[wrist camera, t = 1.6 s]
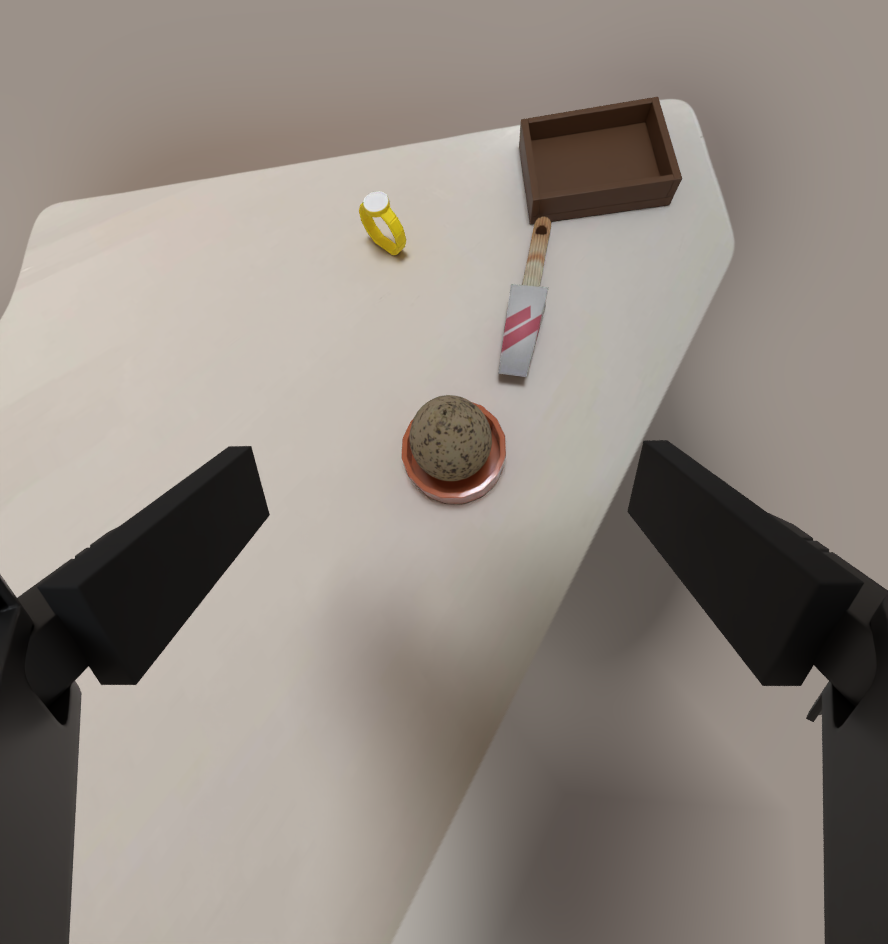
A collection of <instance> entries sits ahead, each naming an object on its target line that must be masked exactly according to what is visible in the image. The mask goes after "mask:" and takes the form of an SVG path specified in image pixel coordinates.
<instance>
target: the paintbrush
mask: <svg viewBox="0 0 888 944" xmlns="http://www.w3.org/2000/svg"><path fill="white" fill-rule="evenodd" d="M550 229H551V221H550V219H548V218H547V217H541V218H538V220H536V222H535V224H534V229H533V234H532V239H531V244H530V250H529V255H528V260H527V264H526V269H525V274H524V279H523V284H522V285H516V284H511V290H510V297H509V303H508V310H507V317H506V324H505V331H504V338H503V345H502V352H501V359H500V365H499V372H498V373H500V374H508V375H515V376H523V377H526V376H527V373H528V369H529V365H530V361H531V358H532V354H533V350H534V347H535V343H536V339H537V336H538V332H539V328H540V325H541V321H542V317H543V313H544V310H545V301H546V297H547V292H548V288H547V287H539V286H540V281H541V276H542V270H543V265H544V260H545V254H546V249H547V244H548V239H549V234H550Z"/></svg>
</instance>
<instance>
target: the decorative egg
mask: <svg viewBox="0 0 888 944" xmlns="http://www.w3.org/2000/svg"><path fill="white" fill-rule="evenodd" d="M409 437H410V447H411V451H412V454H413V456H414V458H415V460H416V462H417V463H418V465H419V466H420V467H421V468H422V469H423V470H424V471H425V472H426V473H428V474H429V475H431V476H432V477H435V478H437V479H440V480H444V481H459V480H462V479H466V478H468V477H470V476H472V475H474V474H475V473H476V472H477V471H479V470H480V469H481V468H482V466H483V465H484V464H485V462H486V461H487V459H488V456H489V454H490V451H491V447H492V434H491V429H490V425H489V423H488V420H487V418H486V417H485V415H484V414H483V412H482V411H481V410H480V409H479V408H478V407H477V406H476V405H475V404H473V403H472V402H470V401H469V400H467V399H465V398H462V397H459V396H452V395H446V396H440V397H437V398H434V399H432V400H430V401H429V402H427V403H426V404H425V405H423V406H422V407H421V408H420V410H419V411H418V412H417V414H416V415H415V417H414V419H413V422H412V424H411V428H410V436H409Z"/></svg>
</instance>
